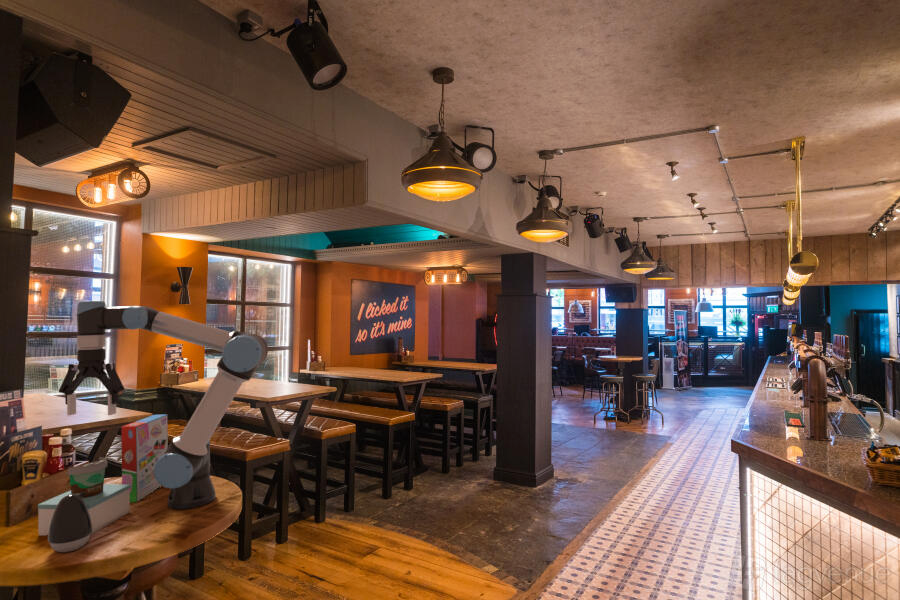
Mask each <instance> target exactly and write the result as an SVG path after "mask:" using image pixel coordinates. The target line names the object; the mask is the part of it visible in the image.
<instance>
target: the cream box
mask: <svg viewBox="0 0 900 600" xmlns="http://www.w3.org/2000/svg"><path fill="white" fill-rule="evenodd" d="M130 503H131V502H130V496H129V489H128V490H126V491H124V492H122V493H120V494H118V495H116V496H114V497H112V498H110V499H108V500H106V501H104V502H102V503H100V504H98V505H96V506H94V507H92V508H90V509H88V511H89V514H90V518H91V523H92V532H91V534H90V536H91V535H93V534H95V533H96V532H98V531H100V530H101V529H103V528H106V526H108V525H110V524H112V523H114V522H116V521H117V520H119V519H120V518H122V517H124V516H125V515H128V514H129V513H130V512H131V511H130V508H131V506H130ZM37 509H38V508H37ZM54 511H55V509H38V518H37V519H38V535H39V534H40V535H39V536H47V535H48V532H49V527H50V523H51V519H52V516H53V513H54Z"/></svg>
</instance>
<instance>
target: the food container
mask: <svg viewBox="0 0 900 600" xmlns="http://www.w3.org/2000/svg"><path fill="white" fill-rule="evenodd" d="M107 467H108V461H107V459H106V458H105V457H102V456H101V457H99V458H98V460H96V461H93V462H88V463H84V464H82V465H80V466H77V467H68V470H67V476H69V484H70V490H71V494H75V495H79V494H80V493H81V492H85V495H84V496H83V497H82V498H87V497H91V496H95V495H98V494H100V493H102V492H103V485H104V484H105V475H106V474H105V472H106V468H107Z"/></svg>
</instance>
